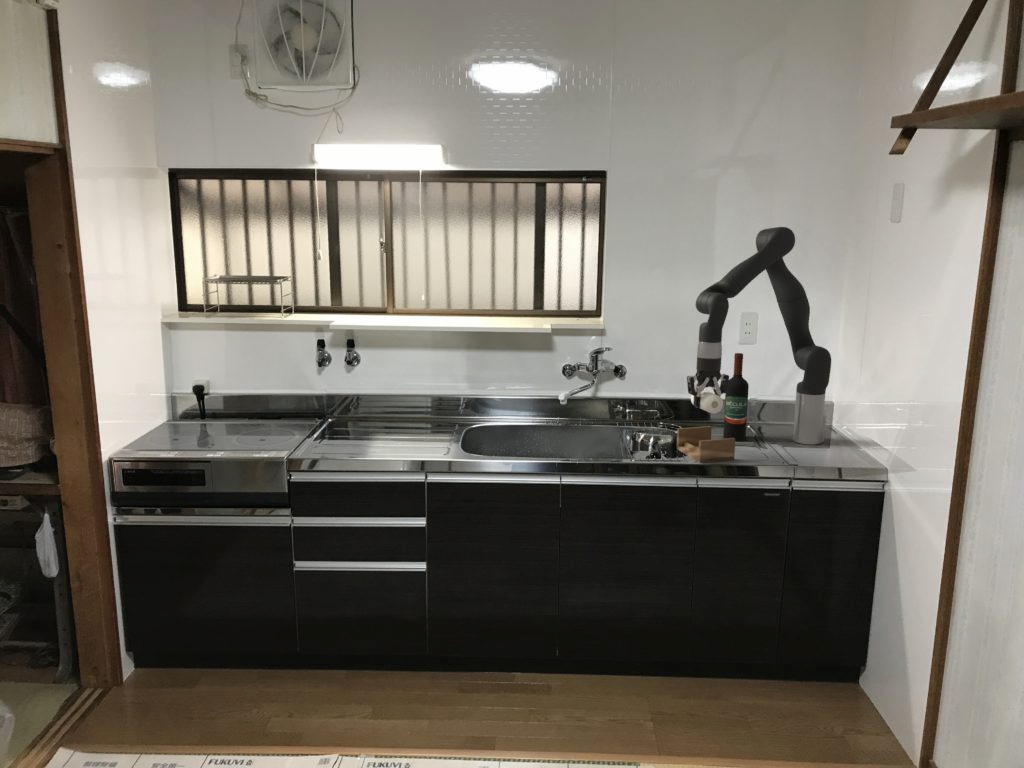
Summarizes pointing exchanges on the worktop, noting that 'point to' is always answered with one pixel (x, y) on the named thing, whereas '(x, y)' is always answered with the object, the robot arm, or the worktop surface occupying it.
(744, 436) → the wine bottle
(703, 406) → the white cylinder
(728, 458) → the walnut cradle
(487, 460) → the worktop surface
